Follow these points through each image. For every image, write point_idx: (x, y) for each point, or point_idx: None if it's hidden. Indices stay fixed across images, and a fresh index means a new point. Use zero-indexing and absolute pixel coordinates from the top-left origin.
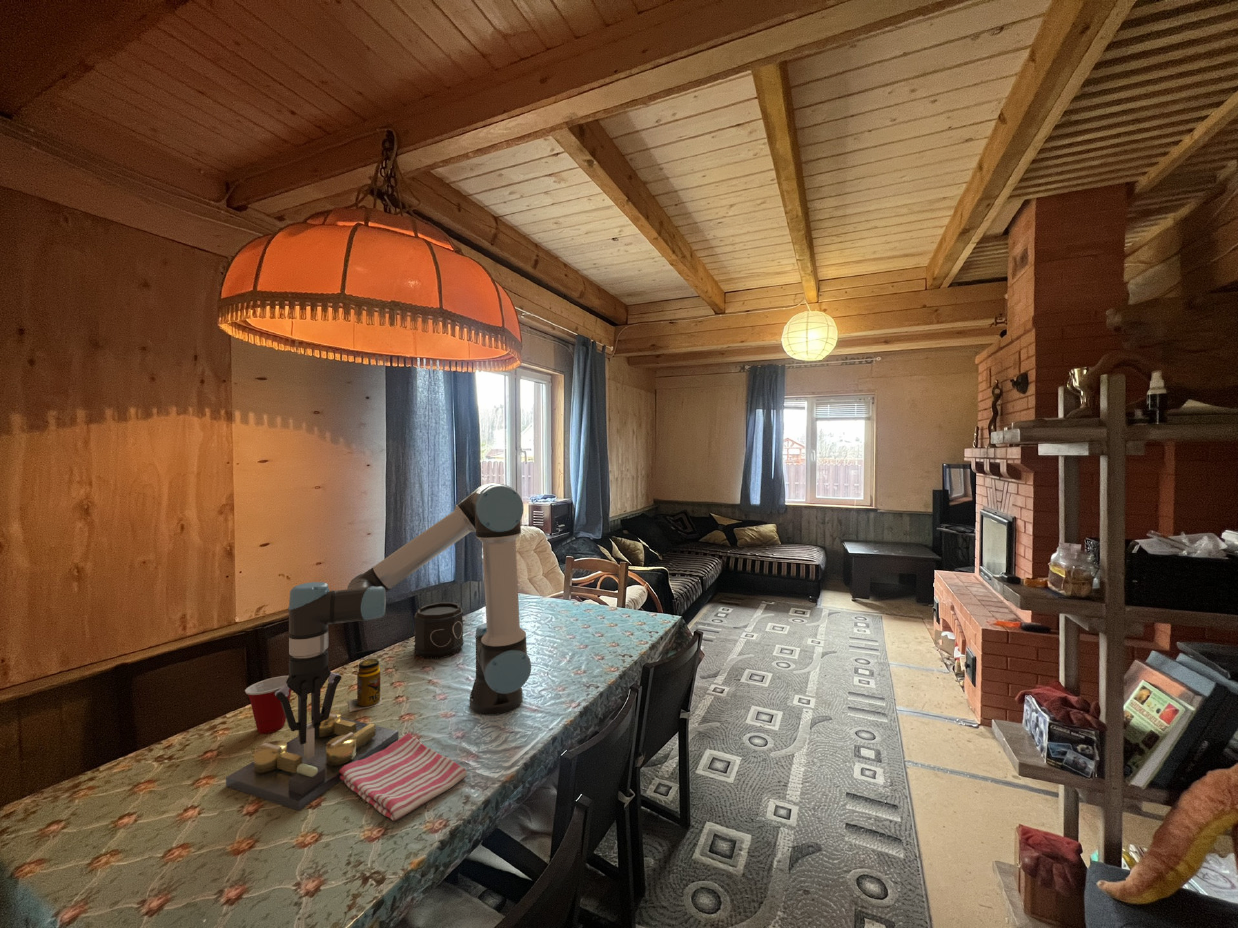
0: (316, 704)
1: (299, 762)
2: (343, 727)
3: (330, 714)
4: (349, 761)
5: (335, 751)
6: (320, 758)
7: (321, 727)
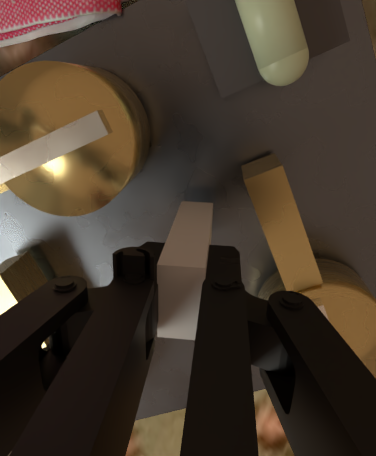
0: (80, 401)
1: (256, 169)
2: None
3: None
4: None
5: (101, 79)
6: (159, 202)
7: None
